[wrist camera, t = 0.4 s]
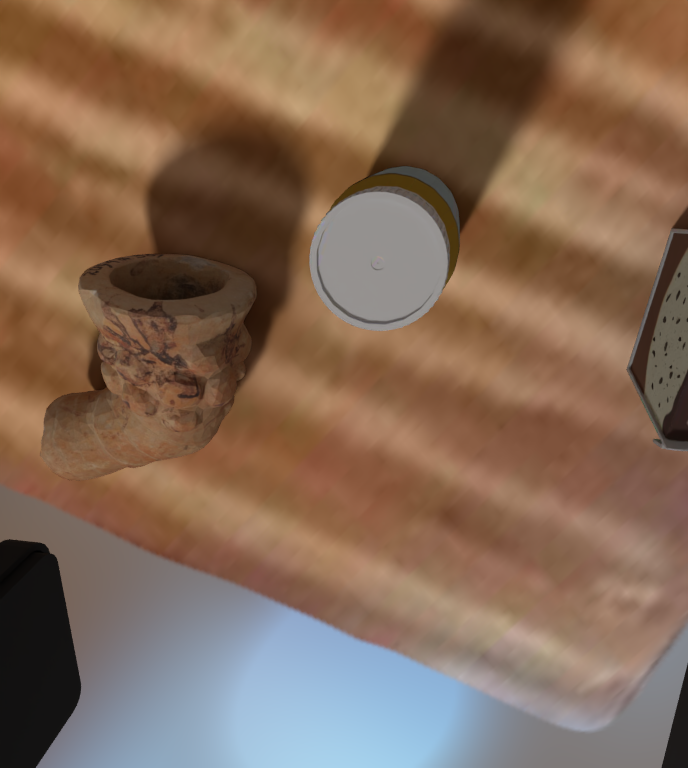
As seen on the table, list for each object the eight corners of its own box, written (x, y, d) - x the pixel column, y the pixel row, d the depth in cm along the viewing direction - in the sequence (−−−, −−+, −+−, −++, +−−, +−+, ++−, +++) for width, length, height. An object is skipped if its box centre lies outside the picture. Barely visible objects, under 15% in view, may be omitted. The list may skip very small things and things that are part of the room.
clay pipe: (318, 367, 50) (237, 191, 42) (306, 463, 42) (202, 266, 33) (112, 421, 55) (1, 271, 46) (64, 518, 46) (-83, 356, 38)
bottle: (432, 145, 40) (418, 149, 26) (475, 248, 42) (484, 303, 28) (333, 196, 42) (272, 224, 28) (379, 292, 44) (342, 363, 30)
